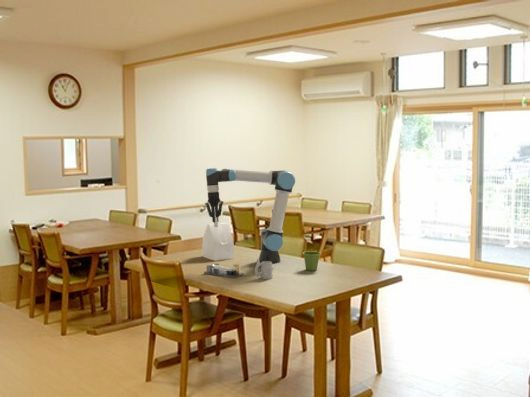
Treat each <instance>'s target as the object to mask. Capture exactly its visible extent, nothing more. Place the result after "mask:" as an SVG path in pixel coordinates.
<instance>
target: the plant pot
mask: <svg viewBox="0 0 530 397" xmlns="http://www.w3.org/2000/svg"><path fill="white" fill-rule="evenodd" d="M321 254H322V253H321V252H319V251H315V250H313V251H311V250H310V251H309V250H308V251H303V252H302V255H303V259H304V265H305V270H306V271H309V272H310V271H313V272H314V270H315V271H317V270H318V265H319V259H320V255H321Z"/></svg>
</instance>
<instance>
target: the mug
mask: <svg viewBox="0 0 530 397" xmlns="http://www.w3.org/2000/svg"><path fill="white" fill-rule="evenodd" d="M259 267H260V271H259ZM254 275H255V276H256V278H259V277H260V279H261V280H270V279H273V276H274V275H273V263H272V262H270V261H263V262H259V259H256V264H255V268H254Z"/></svg>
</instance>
